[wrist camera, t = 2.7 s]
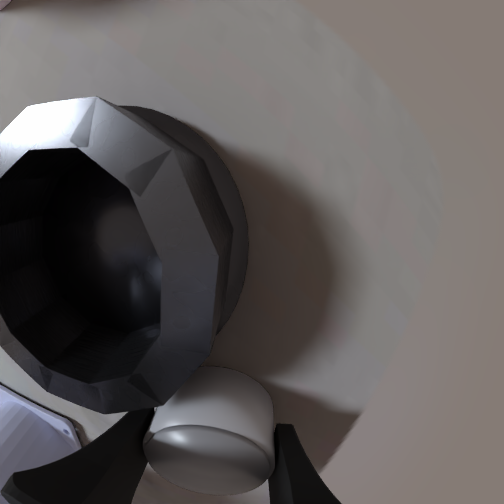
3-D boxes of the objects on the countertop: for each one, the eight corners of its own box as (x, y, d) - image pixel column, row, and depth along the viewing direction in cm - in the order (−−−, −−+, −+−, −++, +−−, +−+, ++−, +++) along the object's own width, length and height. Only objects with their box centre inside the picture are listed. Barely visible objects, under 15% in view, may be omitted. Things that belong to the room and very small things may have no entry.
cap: (264, 447, 12) (263, 501, 9) (166, 432, 12) (148, 483, 9) (282, 374, 11) (288, 437, 8) (161, 356, 11) (132, 411, 8)
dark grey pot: (232, 378, 11) (221, 452, 7) (36, 329, 11) (-12, 368, 7) (266, 116, 9) (270, 75, 5) (33, 117, 9) (-33, 108, 5)
